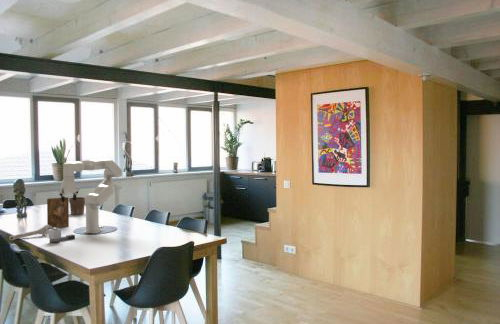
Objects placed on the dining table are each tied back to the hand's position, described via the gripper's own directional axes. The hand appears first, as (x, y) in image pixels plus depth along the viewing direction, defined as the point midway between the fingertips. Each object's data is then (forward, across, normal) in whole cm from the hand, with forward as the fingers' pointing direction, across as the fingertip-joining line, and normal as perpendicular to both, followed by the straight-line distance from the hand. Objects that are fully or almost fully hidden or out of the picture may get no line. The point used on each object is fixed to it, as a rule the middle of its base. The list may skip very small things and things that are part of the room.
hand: (68, 200), depth 320 cm
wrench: (+29, +16, -24) cm, 41 cm away
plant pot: (+29, -67, -88) cm, 114 cm away
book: (+28, -18, -43) cm, 55 cm away
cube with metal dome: (+25, +15, +5) cm, 30 cm away
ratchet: (+28, +9, +5) cm, 30 cm away
